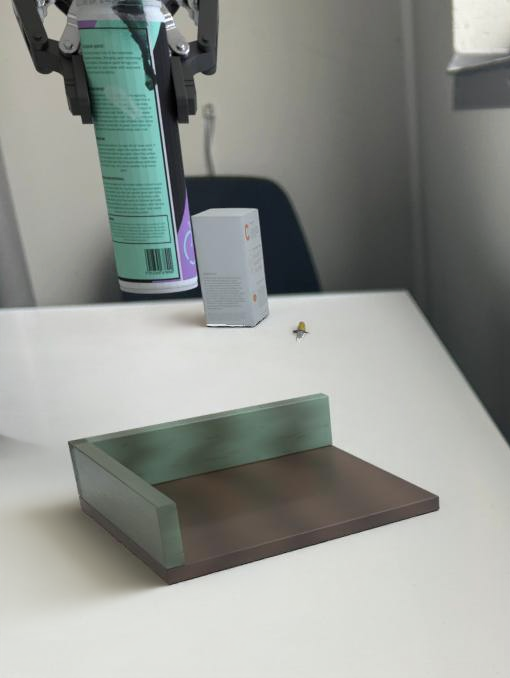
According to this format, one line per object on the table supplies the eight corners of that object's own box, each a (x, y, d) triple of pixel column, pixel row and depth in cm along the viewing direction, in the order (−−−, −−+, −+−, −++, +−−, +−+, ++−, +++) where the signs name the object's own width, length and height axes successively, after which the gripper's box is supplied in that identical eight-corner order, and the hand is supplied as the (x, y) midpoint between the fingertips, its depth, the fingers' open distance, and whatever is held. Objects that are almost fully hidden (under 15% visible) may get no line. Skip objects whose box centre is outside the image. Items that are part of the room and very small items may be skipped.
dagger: (308, 345, 118) (290, 342, 118) (307, 353, 119) (290, 350, 118) (310, 321, 127) (294, 319, 127) (309, 328, 127) (293, 326, 127)
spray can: (214, 285, 75) (175, -43, 65) (155, 296, 71) (104, -51, 61) (163, 277, 77) (118, -39, 68) (103, 288, 73) (47, -46, 64)
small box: (222, 314, 134) (209, 207, 128) (270, 314, 134) (259, 207, 128) (204, 327, 127) (189, 215, 121) (254, 327, 127) (242, 215, 121)
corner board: (169, 584, 62) (156, 507, 59) (81, 509, 73) (67, 441, 70) (439, 509, 72) (437, 440, 70) (326, 453, 83) (321, 392, 81)
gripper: (-21, -143, 66) (5, 67, 62) (207, -131, 70) (246, 68, 65) (4, -37, 73) (29, 158, 69) (210, -31, 77) (246, 155, 72)
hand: (135, 113), depth 67 cm, fingers closed on spray can, 5 cm apart
